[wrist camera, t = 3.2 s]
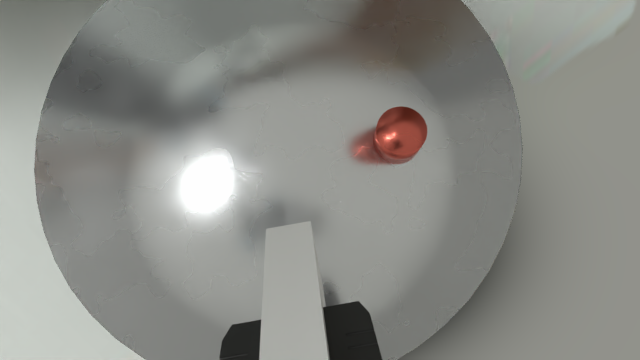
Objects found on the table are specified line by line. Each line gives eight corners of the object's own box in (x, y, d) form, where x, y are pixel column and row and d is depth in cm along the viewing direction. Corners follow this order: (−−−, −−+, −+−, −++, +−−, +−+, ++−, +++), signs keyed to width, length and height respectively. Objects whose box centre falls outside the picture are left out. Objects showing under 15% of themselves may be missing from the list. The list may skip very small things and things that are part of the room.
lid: (62, 642, 15) (9, 712, 13) (47, -18, 22) (10, -57, 19) (631, 533, 16) (689, 582, 13) (447, -84, 22) (462, -131, 20)
